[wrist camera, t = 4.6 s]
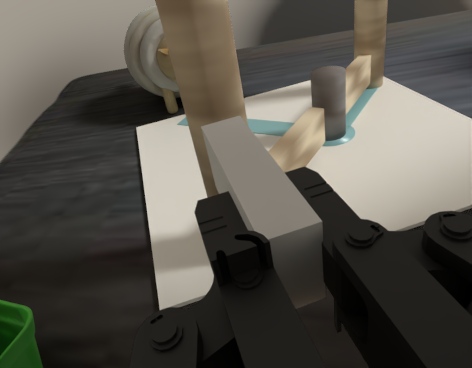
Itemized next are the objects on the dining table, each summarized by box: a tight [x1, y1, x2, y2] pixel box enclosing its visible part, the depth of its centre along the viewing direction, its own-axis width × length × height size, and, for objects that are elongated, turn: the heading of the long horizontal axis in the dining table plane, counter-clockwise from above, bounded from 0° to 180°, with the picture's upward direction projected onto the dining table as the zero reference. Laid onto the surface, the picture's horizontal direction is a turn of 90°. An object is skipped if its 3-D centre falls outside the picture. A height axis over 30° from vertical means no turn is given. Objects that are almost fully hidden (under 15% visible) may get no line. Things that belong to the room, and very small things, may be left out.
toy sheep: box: [124, 5, 181, 114], centre depth 45 cm, size 11×17×11 cm, turn 28°
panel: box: [155, 0, 325, 198], centre depth 22 cm, size 14×3×20 cm, turn 148°
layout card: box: [136, 77, 472, 310], centre depth 33 cm, size 28×26×1 cm
